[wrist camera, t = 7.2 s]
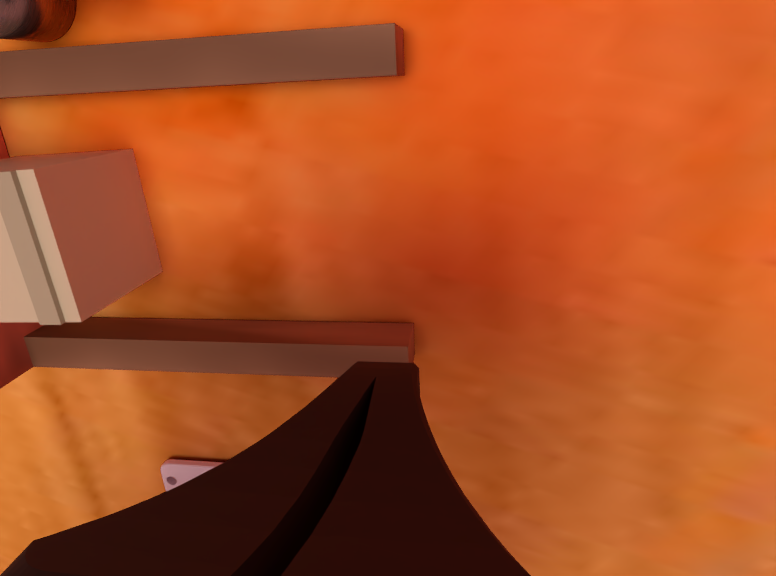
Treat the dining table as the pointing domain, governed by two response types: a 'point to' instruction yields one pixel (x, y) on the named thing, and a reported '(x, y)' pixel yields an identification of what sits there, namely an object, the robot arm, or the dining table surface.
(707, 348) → the dining table surface
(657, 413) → the dining table surface
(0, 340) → the bay
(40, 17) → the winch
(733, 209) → the dining table surface
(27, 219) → the crate
